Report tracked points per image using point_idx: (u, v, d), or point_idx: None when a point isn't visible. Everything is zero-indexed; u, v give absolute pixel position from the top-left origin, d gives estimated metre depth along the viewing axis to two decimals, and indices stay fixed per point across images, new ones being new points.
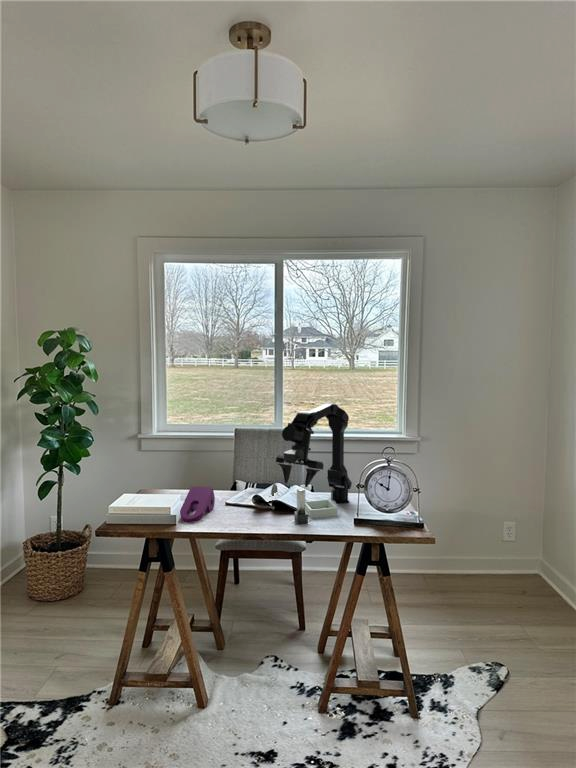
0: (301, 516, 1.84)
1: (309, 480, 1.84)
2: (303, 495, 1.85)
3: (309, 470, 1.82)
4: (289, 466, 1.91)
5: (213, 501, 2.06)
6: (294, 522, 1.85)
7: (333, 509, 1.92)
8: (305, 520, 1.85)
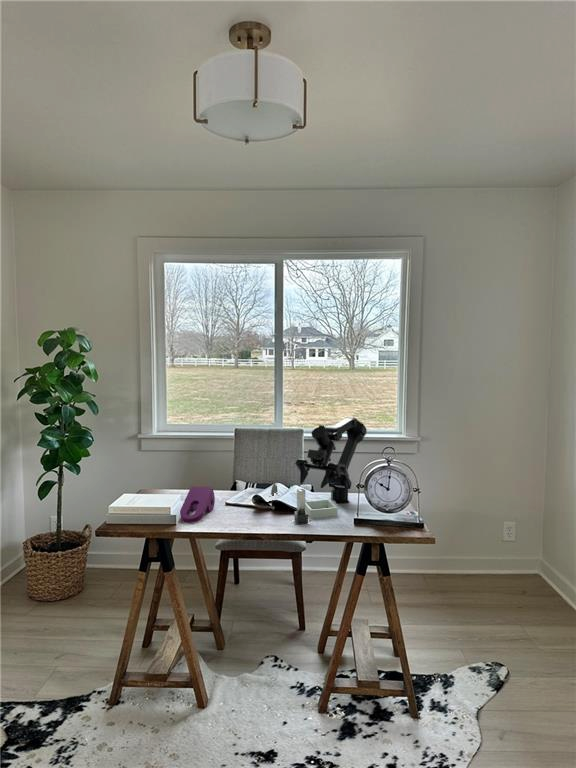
0: (301, 516, 1.84)
1: (325, 482, 1.91)
2: (303, 495, 1.85)
3: (329, 471, 1.91)
4: (306, 471, 1.99)
5: (213, 501, 2.06)
6: (294, 522, 1.85)
7: (333, 509, 1.92)
8: (305, 520, 1.85)
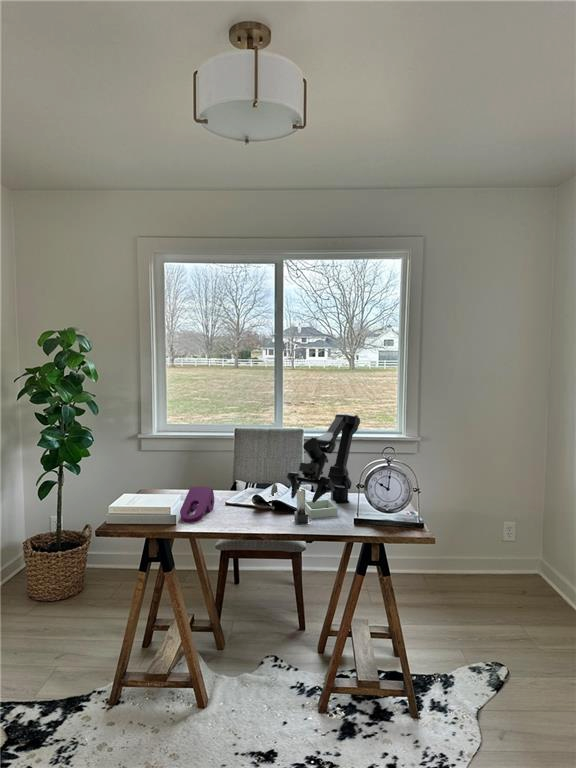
0: (301, 516, 1.84)
1: (317, 496, 1.86)
2: (303, 495, 1.85)
3: (321, 485, 1.85)
4: (298, 485, 1.94)
5: (213, 501, 2.06)
6: (294, 522, 1.85)
7: (333, 509, 1.92)
8: (305, 520, 1.85)
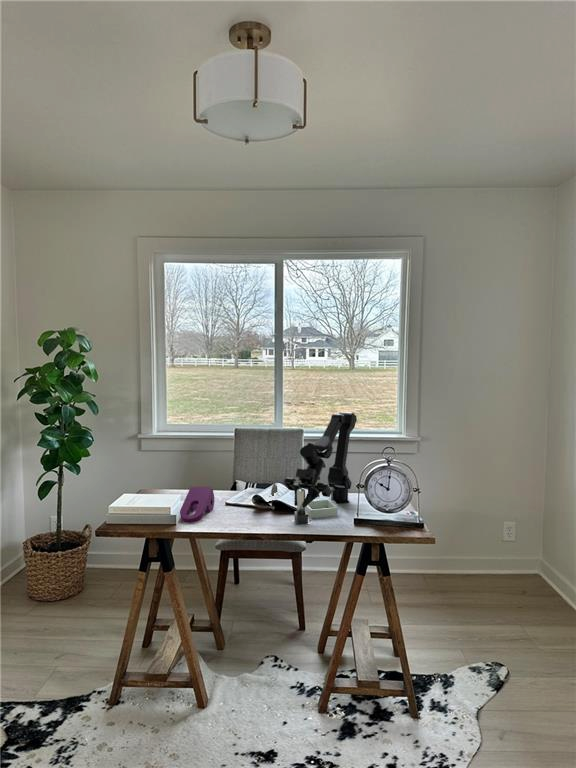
0: (301, 516, 1.84)
1: (308, 501, 1.85)
2: (303, 495, 1.85)
3: (311, 490, 1.85)
4: None
5: (213, 501, 2.06)
6: (294, 522, 1.85)
7: (333, 509, 1.92)
8: (305, 520, 1.85)
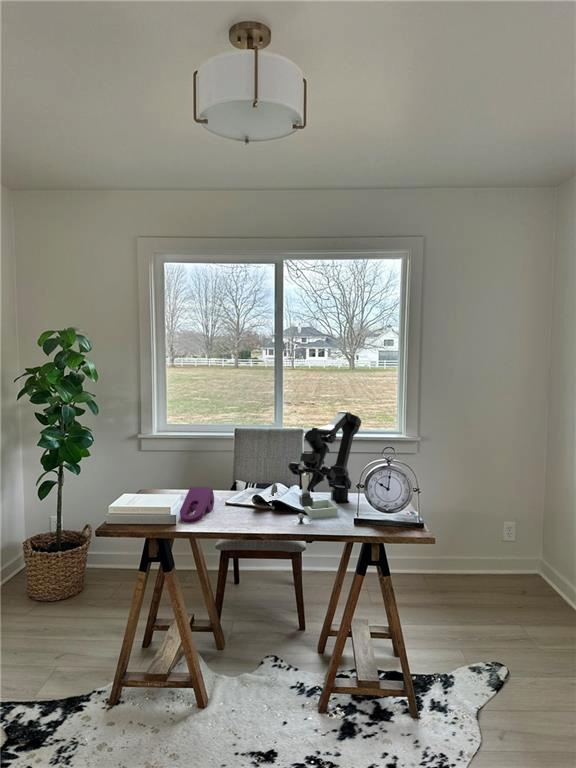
0: (306, 500, 1.87)
1: (312, 485, 1.87)
2: (308, 479, 1.87)
3: (316, 473, 1.87)
4: None
5: (213, 501, 2.05)
6: (294, 522, 1.85)
7: (333, 509, 1.92)
8: (310, 503, 1.87)
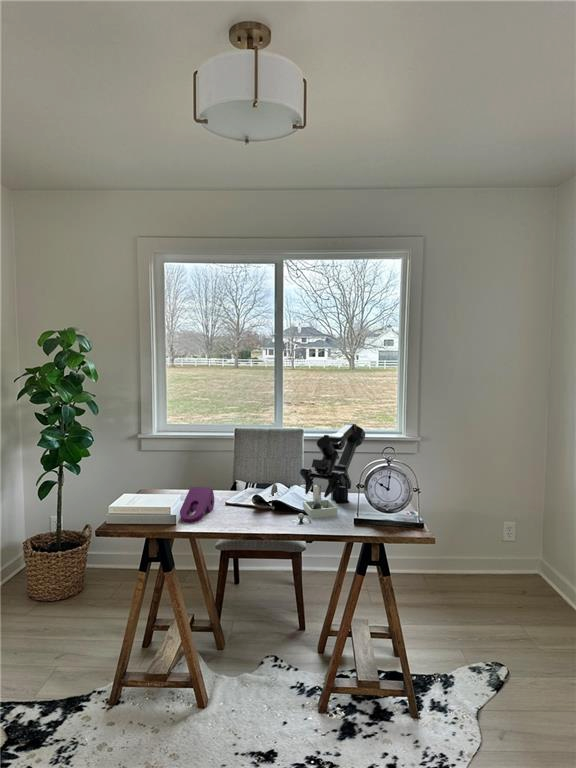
0: None
1: (329, 491, 1.93)
2: (319, 490, 1.94)
3: (332, 480, 1.92)
4: (311, 481, 2.01)
5: (213, 501, 2.05)
6: (294, 522, 1.85)
7: (333, 509, 1.92)
8: None
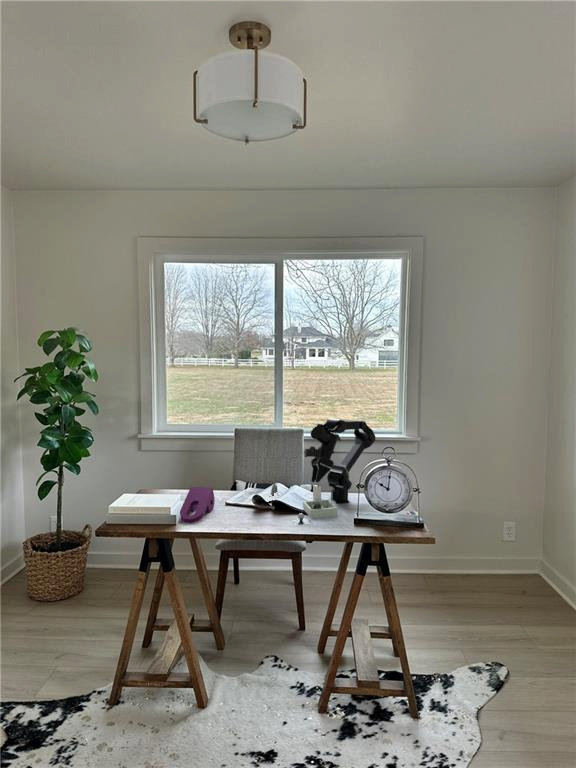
0: None
1: (320, 476, 1.98)
2: (319, 490, 1.94)
3: (317, 465, 1.98)
4: None
5: (213, 501, 2.05)
6: (294, 522, 1.85)
7: (333, 509, 1.92)
8: None
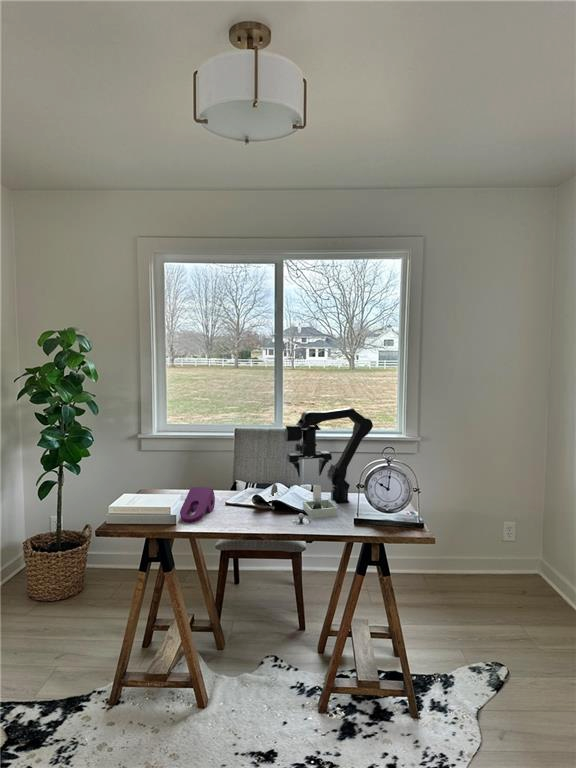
0: None
1: (296, 471, 2.09)
2: (319, 490, 1.94)
3: None
4: (321, 461, 2.10)
5: (213, 501, 2.05)
6: (294, 522, 1.85)
7: (333, 509, 1.92)
8: None
